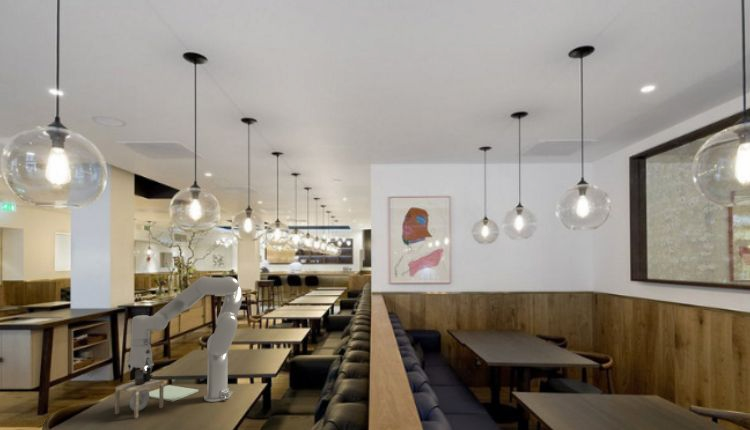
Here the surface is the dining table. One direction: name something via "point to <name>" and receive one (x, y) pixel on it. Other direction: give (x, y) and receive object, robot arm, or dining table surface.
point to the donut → (143, 401)
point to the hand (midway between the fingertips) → (140, 380)
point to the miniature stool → (137, 387)
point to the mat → (172, 393)
